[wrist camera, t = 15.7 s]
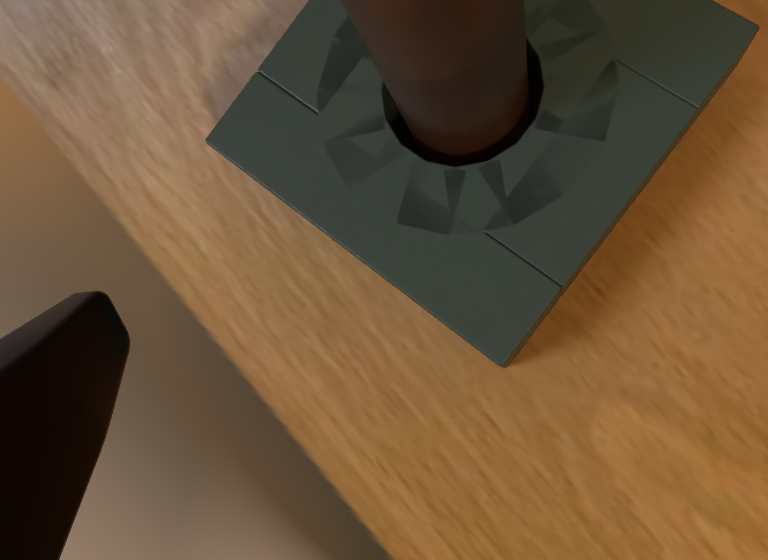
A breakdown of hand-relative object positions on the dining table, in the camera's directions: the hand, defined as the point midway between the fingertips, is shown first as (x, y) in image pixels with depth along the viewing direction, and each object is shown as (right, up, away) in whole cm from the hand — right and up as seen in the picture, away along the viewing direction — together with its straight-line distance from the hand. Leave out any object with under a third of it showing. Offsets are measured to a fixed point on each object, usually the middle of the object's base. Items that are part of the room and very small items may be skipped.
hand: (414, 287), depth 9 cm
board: (+2, +6, +14) cm, 16 cm away
